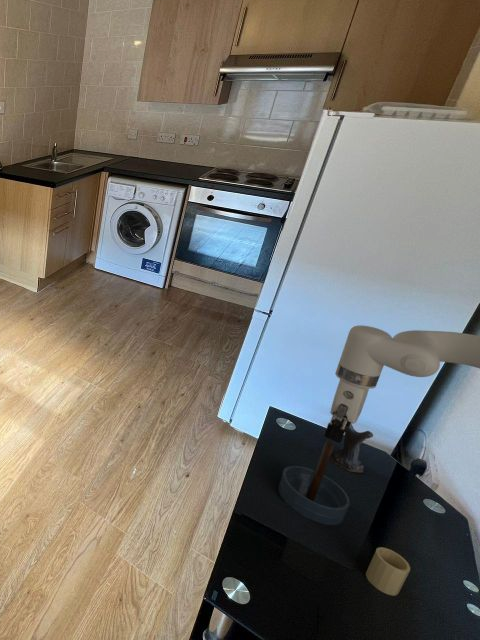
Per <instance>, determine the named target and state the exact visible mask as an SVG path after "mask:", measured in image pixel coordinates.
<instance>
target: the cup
mask: <svg viewBox="0 0 480 640" xmlns="http://www.w3.org/2000/svg"><path fill="white" fill-rule="evenodd" d="M410 572H411V566H410V564H409V562H408V561H407V560H406V558H404V557H403V556H402V555H400V554H399V553H398V552H396V551H394V550H392V549H389V548H387V547H383V546H380V547H377V548H376V549H375V551H374V553H373V556H372V558H371V560H370V563H369V565H368V567H367V569H366V570H365V577H366V579H367V581H368V582H369V583H370V584H371V585H372V586H373V587H374V588H375V589H377V590H378V591H380V592H381V593H384V594H386V595H388V596H394V597H395V596H397V595H399V593H400V591H401V589H402V587H403V585H404V584H405V582H406V580H407V577H408V576H409V574H410Z"/></svg>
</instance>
